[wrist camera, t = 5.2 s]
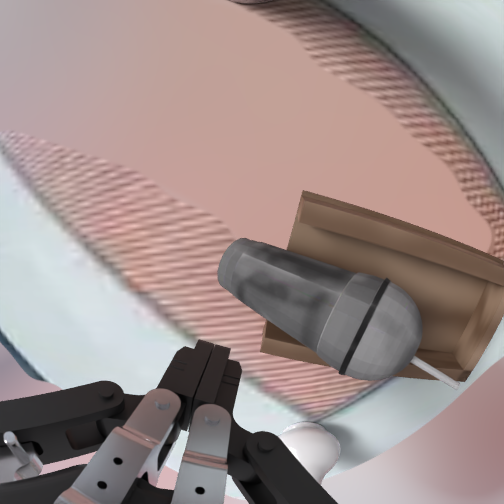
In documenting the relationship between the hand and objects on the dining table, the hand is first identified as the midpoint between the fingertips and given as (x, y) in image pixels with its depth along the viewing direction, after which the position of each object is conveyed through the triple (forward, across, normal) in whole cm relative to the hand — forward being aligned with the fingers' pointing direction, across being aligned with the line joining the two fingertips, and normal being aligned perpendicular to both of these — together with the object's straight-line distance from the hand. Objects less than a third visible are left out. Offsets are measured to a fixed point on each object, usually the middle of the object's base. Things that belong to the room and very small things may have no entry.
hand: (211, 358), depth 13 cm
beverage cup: (+12, +1, 0) cm, 12 cm away
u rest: (+14, -15, 0) cm, 21 cm away
